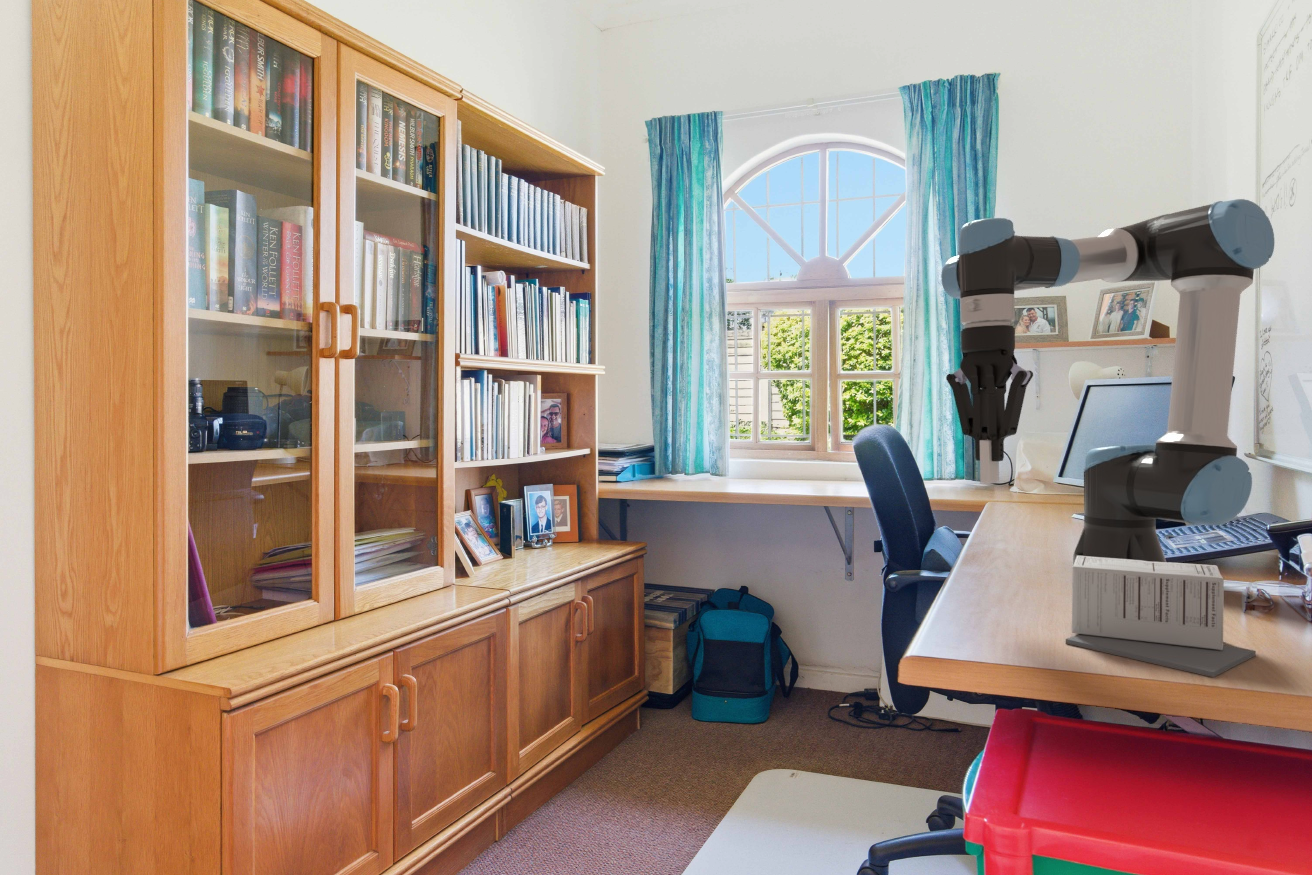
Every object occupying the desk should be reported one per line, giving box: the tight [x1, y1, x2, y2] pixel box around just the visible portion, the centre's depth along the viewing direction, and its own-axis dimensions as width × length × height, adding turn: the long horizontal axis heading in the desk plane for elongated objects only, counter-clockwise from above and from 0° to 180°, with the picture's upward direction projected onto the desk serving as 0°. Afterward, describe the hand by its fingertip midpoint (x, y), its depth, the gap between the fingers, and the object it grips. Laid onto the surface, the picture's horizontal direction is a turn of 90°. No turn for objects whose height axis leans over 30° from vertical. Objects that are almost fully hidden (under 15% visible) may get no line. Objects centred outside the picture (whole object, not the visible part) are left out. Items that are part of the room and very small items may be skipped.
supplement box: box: [1071, 556, 1225, 650], centre depth 110 cm, size 10×9×17 cm
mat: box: [1065, 634, 1256, 678], centre depth 106 cm, size 13×17×1 cm
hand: (989, 482), depth 126 cm, fingers closed
